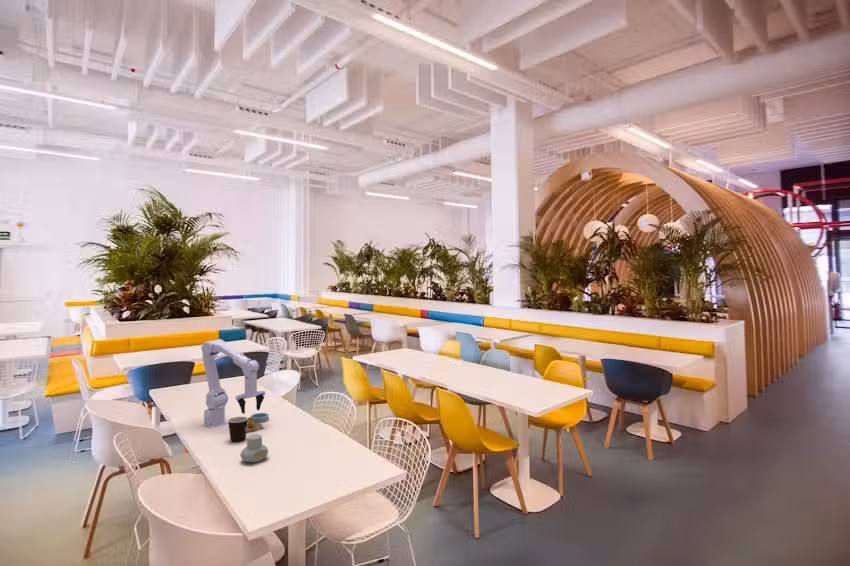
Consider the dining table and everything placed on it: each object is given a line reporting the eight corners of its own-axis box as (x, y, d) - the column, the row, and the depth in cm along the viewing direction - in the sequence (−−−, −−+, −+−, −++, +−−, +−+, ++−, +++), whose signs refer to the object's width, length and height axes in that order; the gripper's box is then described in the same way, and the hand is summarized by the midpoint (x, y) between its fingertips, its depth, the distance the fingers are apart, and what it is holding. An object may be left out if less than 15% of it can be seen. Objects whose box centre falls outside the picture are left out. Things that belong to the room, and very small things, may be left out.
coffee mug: (240, 444, 203) (240, 423, 203) (224, 443, 205) (224, 421, 205) (255, 435, 215) (255, 415, 214) (239, 434, 216) (239, 414, 216)
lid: (244, 433, 216) (244, 423, 216) (235, 428, 224) (235, 417, 224) (266, 428, 224) (266, 418, 224) (256, 423, 231) (256, 413, 231)
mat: (245, 434, 217) (245, 433, 217) (236, 428, 224) (236, 428, 224) (264, 429, 224) (264, 428, 224) (256, 424, 231) (256, 423, 231)
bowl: (254, 425, 229) (254, 419, 229) (247, 421, 236) (247, 415, 236) (271, 421, 236) (271, 415, 236) (263, 417, 242) (263, 411, 242)
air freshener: (261, 453, 194) (261, 430, 194) (271, 458, 189) (271, 435, 189) (237, 461, 186) (237, 437, 185) (247, 467, 180) (247, 442, 180)
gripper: (239, 389, 215) (239, 416, 215) (268, 383, 225) (268, 410, 226) (233, 386, 220) (233, 413, 220) (261, 381, 230) (261, 407, 231)
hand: (250, 411), depth 223 cm, fingers open, 7 cm apart
